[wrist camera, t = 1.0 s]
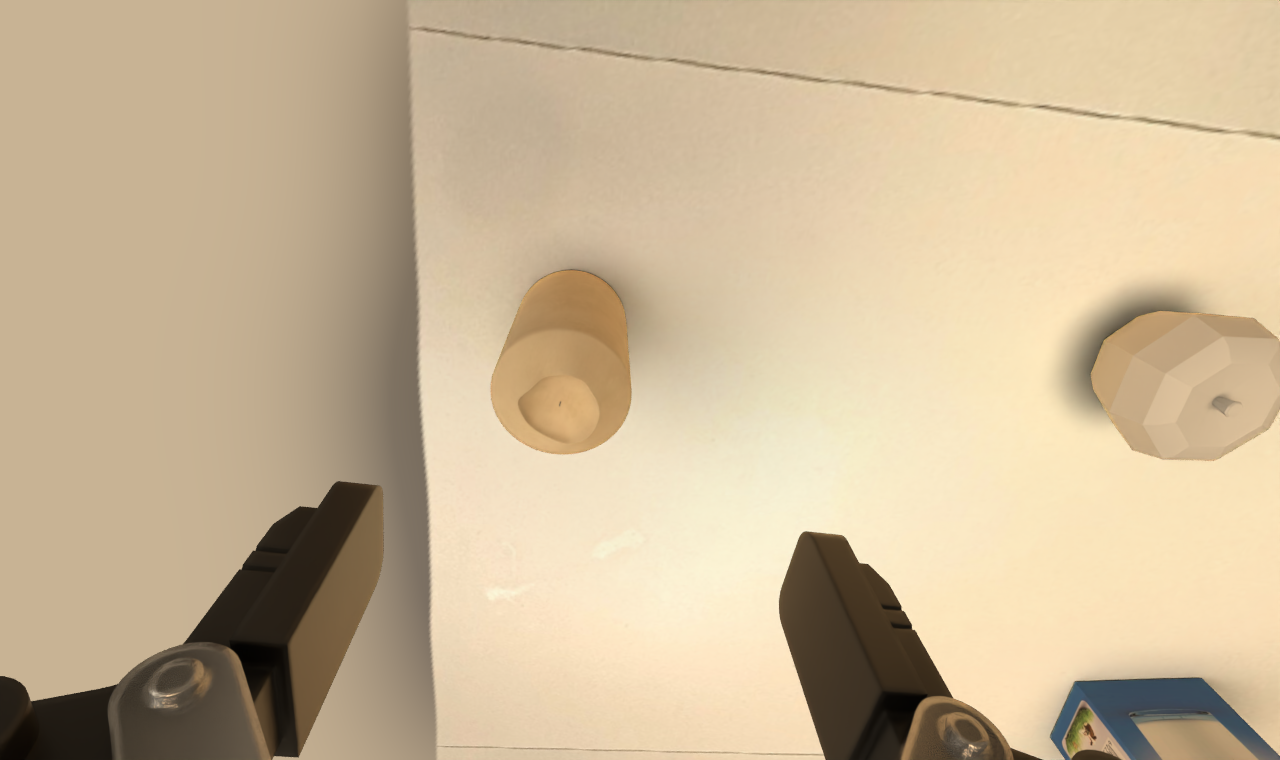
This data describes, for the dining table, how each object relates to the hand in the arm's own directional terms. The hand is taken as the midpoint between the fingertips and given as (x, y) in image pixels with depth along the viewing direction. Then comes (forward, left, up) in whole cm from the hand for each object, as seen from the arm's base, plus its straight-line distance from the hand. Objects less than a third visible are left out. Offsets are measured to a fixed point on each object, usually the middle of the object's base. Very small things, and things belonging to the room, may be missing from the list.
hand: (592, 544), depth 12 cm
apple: (+29, +7, -21) cm, 36 cm away
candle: (0, -3, -21) cm, 21 cm away
